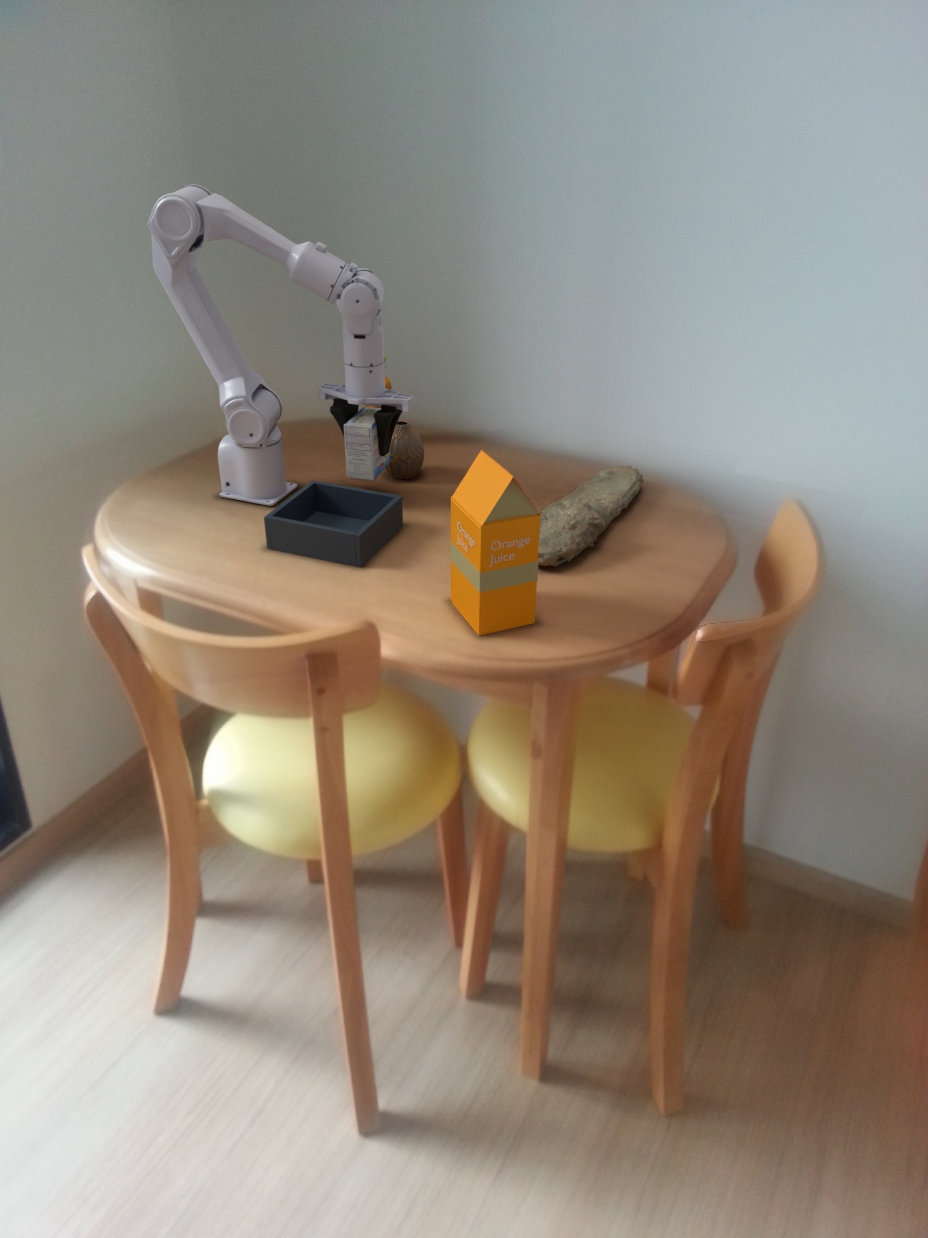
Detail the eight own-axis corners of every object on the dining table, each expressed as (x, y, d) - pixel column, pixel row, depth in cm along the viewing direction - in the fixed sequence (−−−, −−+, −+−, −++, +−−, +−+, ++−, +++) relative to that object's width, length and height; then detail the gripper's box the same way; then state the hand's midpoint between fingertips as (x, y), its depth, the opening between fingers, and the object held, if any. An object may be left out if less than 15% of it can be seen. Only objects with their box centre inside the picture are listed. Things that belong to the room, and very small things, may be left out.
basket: (266, 548, 134) (263, 517, 131) (314, 509, 145) (312, 479, 142) (361, 567, 129) (359, 535, 127) (403, 526, 140) (402, 495, 138)
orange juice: (478, 636, 115) (481, 481, 105) (449, 601, 122) (449, 452, 111) (536, 622, 118) (545, 470, 107) (505, 589, 125) (510, 443, 114)
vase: (432, 472, 157) (432, 420, 152) (408, 486, 152) (406, 433, 147) (398, 463, 160) (396, 412, 156) (373, 476, 155) (370, 424, 151)
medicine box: (374, 482, 142) (372, 426, 138) (345, 478, 143) (343, 423, 139) (391, 462, 149) (389, 408, 144) (363, 459, 150) (361, 405, 145)
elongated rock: (657, 495, 153) (598, 485, 158) (660, 463, 151) (600, 454, 155) (570, 577, 126) (502, 563, 130) (572, 540, 124) (503, 527, 128)
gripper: (305, 363, 136) (312, 453, 144) (398, 375, 132) (401, 467, 139) (329, 349, 142) (334, 437, 149) (419, 361, 138) (420, 450, 145)
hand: (368, 451), depth 145 cm, fingers closed on medicine box, 5 cm apart
